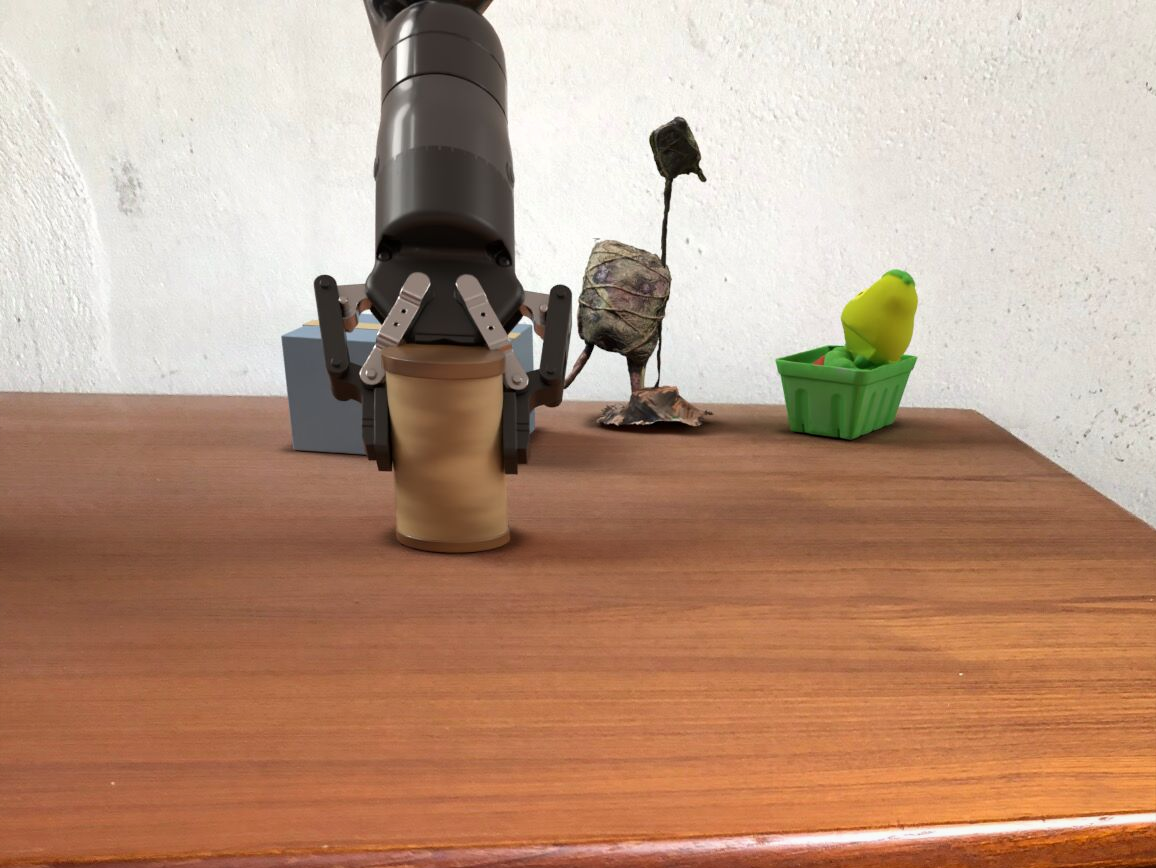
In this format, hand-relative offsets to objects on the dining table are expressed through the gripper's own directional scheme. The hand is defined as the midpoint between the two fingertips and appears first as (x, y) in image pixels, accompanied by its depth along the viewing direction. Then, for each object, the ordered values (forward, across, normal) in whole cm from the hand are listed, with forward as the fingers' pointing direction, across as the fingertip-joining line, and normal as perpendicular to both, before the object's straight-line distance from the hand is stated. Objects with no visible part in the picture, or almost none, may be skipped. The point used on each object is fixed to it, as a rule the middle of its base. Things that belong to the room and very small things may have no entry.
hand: (446, 463), depth 80 cm
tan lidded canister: (+2, 0, -4) cm, 5 cm away
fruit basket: (-23, -28, -29) cm, 46 cm away
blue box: (-17, +4, -23) cm, 28 cm away
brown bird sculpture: (-22, -12, -29) cm, 38 cm away
